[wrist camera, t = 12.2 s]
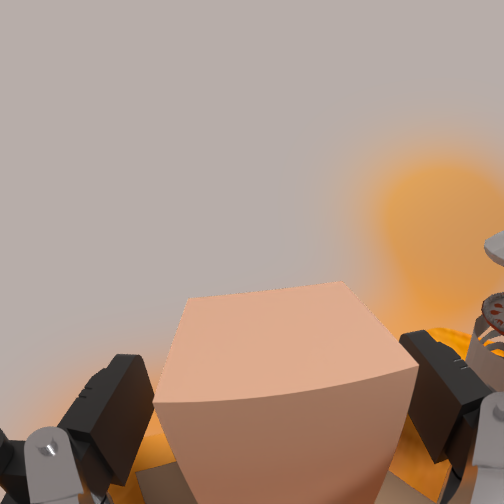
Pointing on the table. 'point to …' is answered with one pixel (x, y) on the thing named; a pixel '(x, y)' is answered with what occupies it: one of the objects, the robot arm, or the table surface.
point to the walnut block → (182, 500)
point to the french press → (495, 315)
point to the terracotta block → (284, 397)
